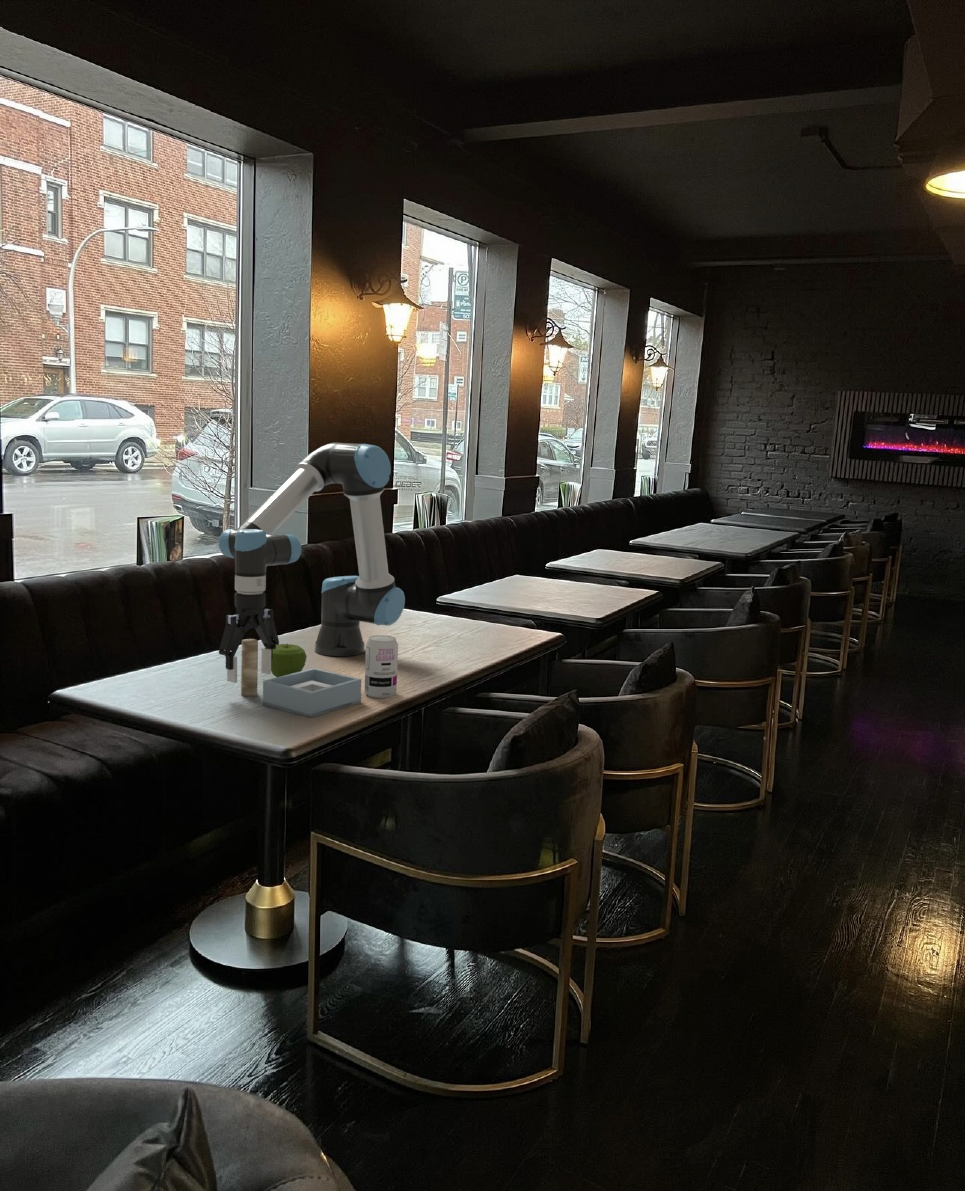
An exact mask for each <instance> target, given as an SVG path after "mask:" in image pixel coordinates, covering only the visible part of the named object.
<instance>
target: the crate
mask: <svg viewBox="0 0 965 1191" xmlns="http://www.w3.org/2000/svg"><path fill="white" fill-rule="evenodd" d="M361 702H362V678H358V677H353V676H349V675H346V674H342V673H336V672H334V671H333V672H332V671H328V670H323V669H320V668H316V667H314V668H310V669H309V668H308V669H304V670H302V671H301V672H297V673H293V674H289V675H285V676H281V677H274V678H270V679H266V680H265V679H264V680H263V681H262V705H263V706H266V707H271V708H274V709H278V710H281V711H285V712H288V713H291V714H296V715H300V716H303V717H306V718H315V717H317V716H321V715H325V714H329V713H331V712H334V711H336V710H340V709H343V708H347V707H350V706H353V705H356V704H360V703H361Z"/></svg>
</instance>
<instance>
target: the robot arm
mask: <svg viewBox="0 0 965 1191" xmlns="http://www.w3.org/2000/svg"><path fill="white" fill-rule="evenodd" d="M391 467H392V466H391V461H390V459H389V456H388V454H387V453H386V452H385V450H383V449H382V448H381V447H380V446H377V445H374V444H368V443H354V442H353V443H350V442H349V443H347V442H336V441H335V442H330V443H327V444H325V445H322V446H320V447H318V448H317V449H315V450H314V451H312V452H310V453H309V454H308V455H306V456H305V457H304V458H303V459H302V460H300V461H299V463H298V464H296V466H295V469H294V473H292V475H291V476H289V478H288V479H287V480H286V481H285V482H284V483H282V485H280V486H279V487H278V488H277V489H276V490H275V491H274V492H273V493H272V495H270V497H268V498H267V499H266V500H265V501H264V502H263V503H262V504H261V505H260V506H259V507H258V508H257V509H256V510H255V511H253V513H252V514H251V515H250V516H249V517H248V518H247V519H246V520H244V522H243V523H242V524H241V525H240V526H239V527H238V528H237V529H236V528H231V529H230V528H229V529H225V530H224V531H222V532H221V534H220V536H219V538H218V548H219V550H220V553H221V554H222V555H223V556H224V557H225V556H226V557H228V558H232V559H234V573H235V574H234V590H235V591H236V592H235V593H234V607H235V609H236V612H235V614H233V615H232V614H231V615H230V614H227V615H226V616H225V626H224V630H223V633H222V636H221V642H220V645H219V648H218V654H219V655H220V656H224V657H225V670H226V672H227V673H226V674H227V676H226V677H227V678H226V679H227V680H226V681H227V682H230V683H234V684H236V683H238V656H235V655H236V653H237V651H238V649H239V646H240V644H242V640H243V638H244V635H245V634H246V633H247V632H248V631H250V630H252V629H255V631H256V633H257V635H258V637H259V639H260V641H261V643H262V645H263V646H264V647H261V662H260V663H261V664H260V665H261V669H260V670H261V671H260V672H261V673H262V674H264V675H265V674H266V675H271V674H272V671H271V660H272V658H273V655H272V654H273V649H276V645H278V644H280V639H279V635H278V632H277V628H276V624H275V623H276V622H275V620H274V610H273V609H269V608H265V607H266V605H267V604H266V603H267V602H266V600H267V599H266V595H267V594H266V593H265V591H266V588H267V582H266V580H267V567H269V566H270V567H271V566H278V565H279V566H280V565H288V564H291V563H295V562H297V561H298V560H299V559H300V557H301V554H302V545H301V541H300V540H299V538H297V537H296V536H295V535H294V534H286V533H283V534H274V533H276V532H277V531H278V530H279V528H280V527H281V526H282V525H283V524H285V522H286V521H287V520H288V519H289V518H290V517H292V515H293V514H294V513H295V512H296V511H297V510H298V509H299V508H300V507H301V506H302V505H303V504H304V503H305V502H306V500H308V499H309V498H310V496H312V494H314V492H321V490H323V489H324V487H326V486H327V485H331V484H338V485H342V491H343V495H344V496H345V497H347V498H348V499H349V504H350V512H351V519H352V520H351V522H352V529H353V535H354V536H353V538H354V544H355V551H356V559H357V560H356V561H357V567H358V569H357V570H358V574H359V575H344V576H333V577H328V578H325V579H324V580H323V581H322V586H321V592H320V593H321V604H320V605H321V608H320V609H321V610H320V611H321V615H320V616H321V620H320V621H321V624H320V629H319V630H318V633H317V634H318V635H317V638H316V641H315V643H314V651H315V652H316V653H318V654H320V655H325V656H330V657H332V656H333V657H352V656H357V655H358V656H359V655H361V654H364V653H365V651H366V643H365V642H364V639H363V635H362V632H361V628H360V622H362V623H367V624H368V623H369V624H373V625H376V626H391V625H393V624H395V623H396V622H397V621H398V620H399V619H400V617H401V615H402V613H403V611H404V609H405V603H406V597H405V592H404V591H403V589H401V588H400V587H397V586H396V582H395V577H394V576H393V575H391V573H389V564H388V558H387V549H386V548H387V547H386V539H385V538H386V537H385V531H384V529H385V528H384V523H383V513H382V504H381V495H382V493H383V492H384V491H385V486H386V485H387V484H388V482H389V481H390V476H391V471H392V468H391Z"/></svg>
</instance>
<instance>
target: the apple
mask: <svg viewBox="0 0 965 1191" xmlns="http://www.w3.org/2000/svg"><path fill="white" fill-rule="evenodd" d="M272 655H273V658H272V660H271V674H272V675H273V676H274V677H275V678H277V677H281V676H285V675H289V674H293V673H297V672H301V671H303V669H304V668H305V665H306V662H307V658H308V657H307V653H306V651H305V649H304V648H302V647H301V646H299V645H297V644H290V643H281V644H280V643H279V644H278V645H276V649H273V654H272Z"/></svg>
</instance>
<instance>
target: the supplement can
mask: <svg viewBox="0 0 965 1191" xmlns="http://www.w3.org/2000/svg"><path fill="white" fill-rule="evenodd" d="M398 655H399V643H398V642H397V638H396V637H394V636H392V635H382V634H379V635H371V636H369V637H368V639H367V641H366V643H365V665H364V666H365V667H364V668H365V669H364V693H365V695H367V696H368V697H369V698H375V699H387V698H391V697H394V696H395V695H396V693H397V688H398V687H397V686H398V683H397V682H398V659H399V658H398V657H399V656H398Z"/></svg>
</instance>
